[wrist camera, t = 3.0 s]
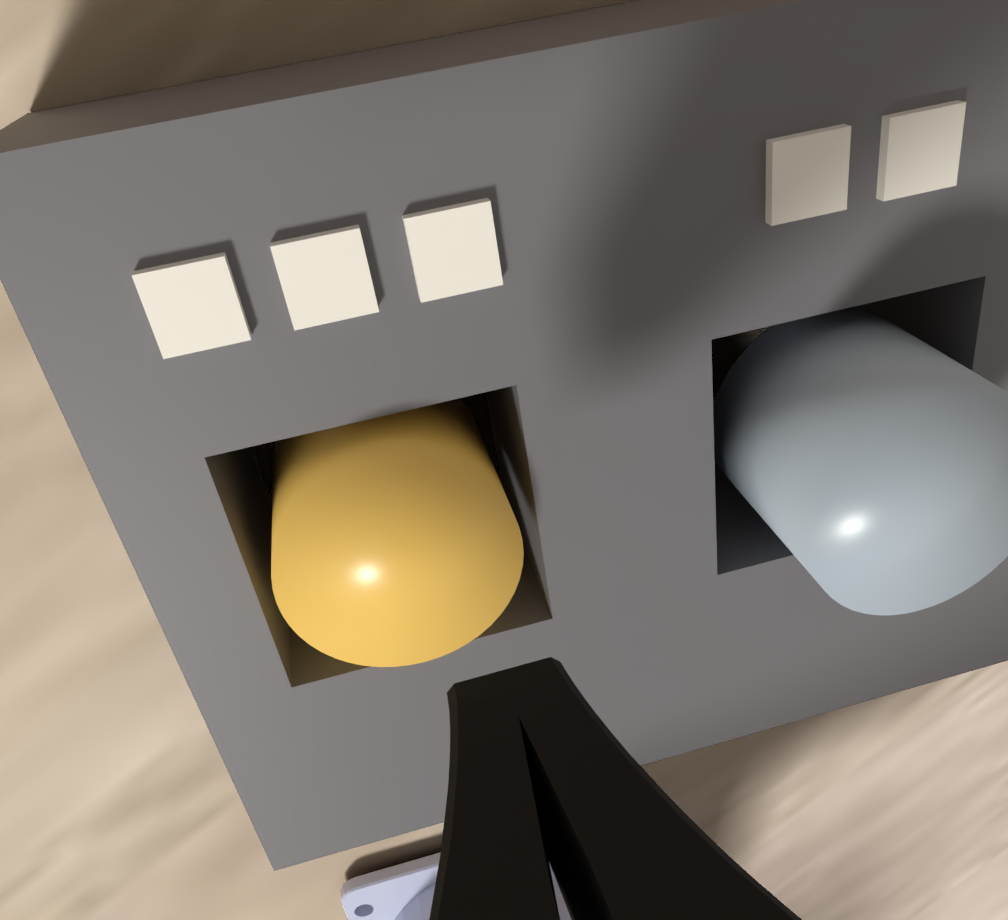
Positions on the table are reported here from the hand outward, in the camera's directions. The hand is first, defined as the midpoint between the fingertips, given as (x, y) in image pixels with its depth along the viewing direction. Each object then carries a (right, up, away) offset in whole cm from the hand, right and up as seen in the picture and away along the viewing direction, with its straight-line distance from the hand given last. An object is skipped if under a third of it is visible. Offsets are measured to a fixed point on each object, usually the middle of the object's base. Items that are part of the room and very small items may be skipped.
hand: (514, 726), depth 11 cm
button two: (+6, +4, +5) cm, 9 cm away
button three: (-3, +3, +6) cm, 7 cm away
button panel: (+5, +6, +8) cm, 11 cm away
